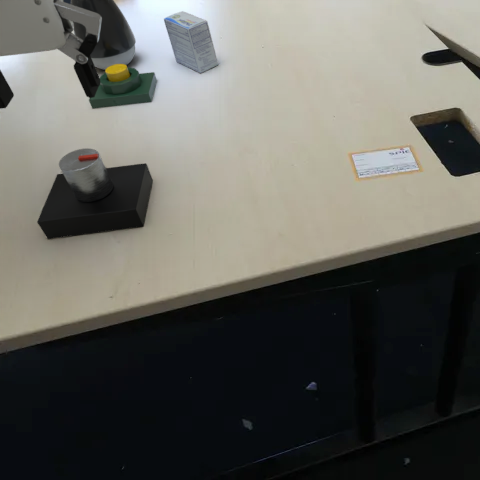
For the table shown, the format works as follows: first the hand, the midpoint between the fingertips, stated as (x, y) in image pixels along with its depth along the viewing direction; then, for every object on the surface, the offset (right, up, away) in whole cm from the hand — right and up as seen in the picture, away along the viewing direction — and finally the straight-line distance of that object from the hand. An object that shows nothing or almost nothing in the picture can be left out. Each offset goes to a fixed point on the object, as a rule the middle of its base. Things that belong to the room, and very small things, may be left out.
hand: (50, 97), depth 61 cm
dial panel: (+1, -12, +11) cm, 16 cm away
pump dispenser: (-12, +18, +42) cm, 47 cm away
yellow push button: (-6, +12, +31) cm, 34 cm away
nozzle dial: (+1, -10, +8) cm, 13 cm away
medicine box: (+5, +17, +41) cm, 44 cm away
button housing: (-6, +9, +33) cm, 35 cm away
